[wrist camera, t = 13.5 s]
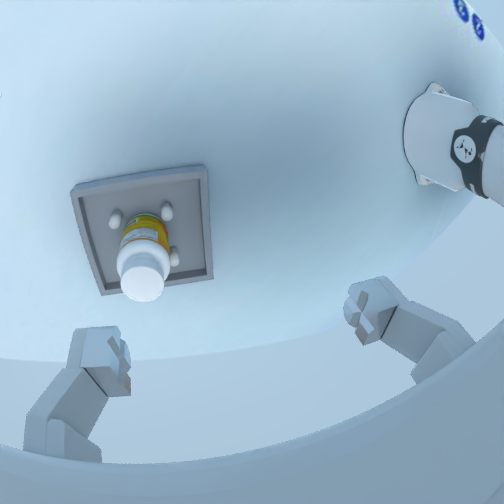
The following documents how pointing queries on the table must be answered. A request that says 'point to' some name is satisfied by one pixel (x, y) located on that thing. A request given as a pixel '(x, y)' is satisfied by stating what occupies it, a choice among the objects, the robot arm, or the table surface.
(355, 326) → the robot arm
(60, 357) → the table surface
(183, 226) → the pin tray
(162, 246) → the supplement bottle
